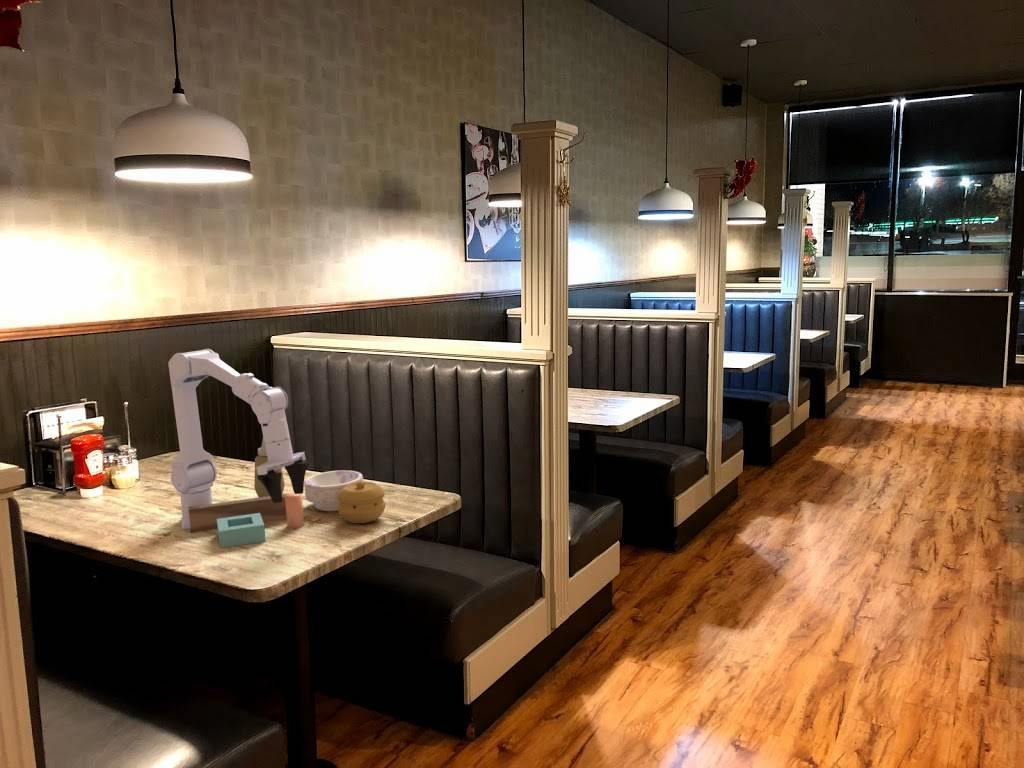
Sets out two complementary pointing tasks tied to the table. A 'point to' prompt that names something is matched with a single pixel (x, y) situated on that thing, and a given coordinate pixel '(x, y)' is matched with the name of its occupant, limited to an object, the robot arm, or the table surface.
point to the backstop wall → (235, 512)
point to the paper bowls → (329, 488)
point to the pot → (361, 502)
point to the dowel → (294, 510)
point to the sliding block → (240, 530)
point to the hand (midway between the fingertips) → (288, 497)
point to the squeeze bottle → (259, 461)
